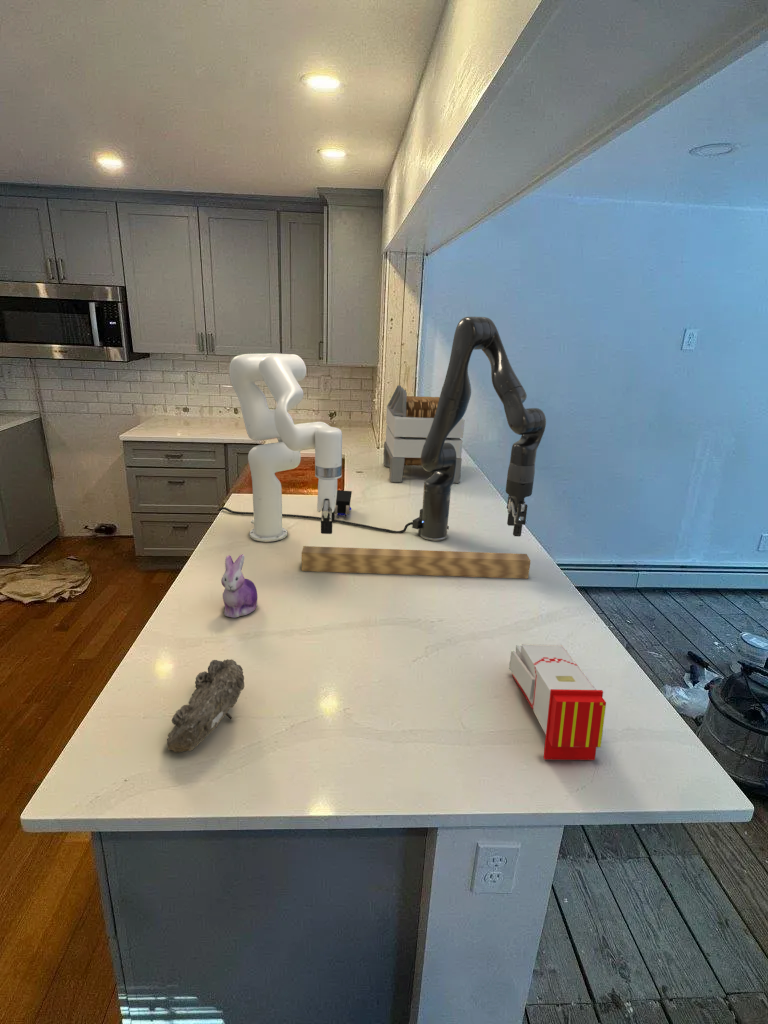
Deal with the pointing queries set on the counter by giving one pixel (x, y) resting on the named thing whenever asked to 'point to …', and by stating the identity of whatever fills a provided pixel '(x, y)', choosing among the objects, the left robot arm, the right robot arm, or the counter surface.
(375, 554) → the beam
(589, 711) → the toy
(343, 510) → the figurine character
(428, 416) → the grey box with legs
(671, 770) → the counter surface
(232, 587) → the figurine
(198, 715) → the fossil
